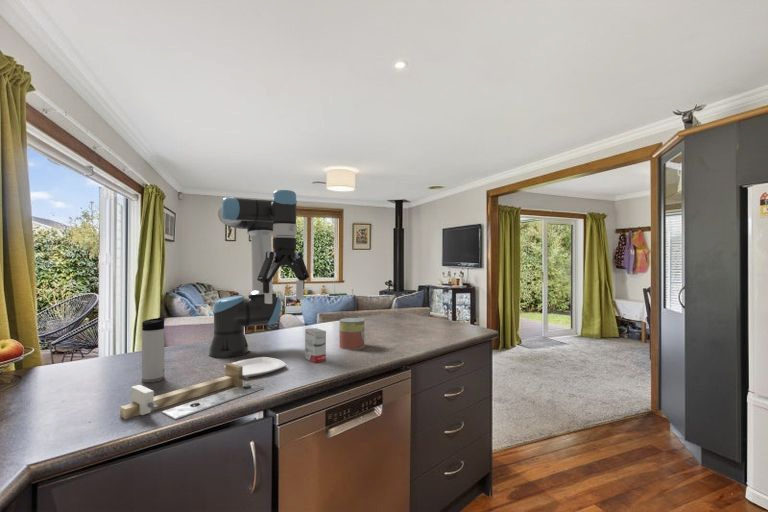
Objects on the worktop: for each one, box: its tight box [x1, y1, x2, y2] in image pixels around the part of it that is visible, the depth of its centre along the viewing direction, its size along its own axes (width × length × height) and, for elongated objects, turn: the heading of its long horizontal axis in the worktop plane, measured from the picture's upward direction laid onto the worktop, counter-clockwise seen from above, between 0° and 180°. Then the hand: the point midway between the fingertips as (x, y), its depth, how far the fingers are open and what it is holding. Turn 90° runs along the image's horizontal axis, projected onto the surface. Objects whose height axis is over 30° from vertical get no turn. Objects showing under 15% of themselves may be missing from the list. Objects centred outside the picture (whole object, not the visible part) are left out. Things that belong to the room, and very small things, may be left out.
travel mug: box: [141, 316, 165, 384], centre depth 120 cm, size 6×7×20 cm
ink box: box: [304, 327, 327, 364], centre depth 143 cm, size 8×5×12 cm, turn 39°
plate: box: [223, 356, 287, 378], centre depth 131 cm, size 19×19×2 cm
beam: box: [119, 362, 249, 420], centre depth 103 cm, size 32×10×6 cm, turn 145°
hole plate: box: [161, 382, 265, 420], centre depth 103 cm, size 7×26×1 cm, turn 145°
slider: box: [130, 384, 159, 416], centre depth 93 cm, size 2×12×6 cm, turn 55°
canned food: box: [339, 317, 365, 351], centre depth 164 cm, size 11×11×12 cm
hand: (284, 301), depth 121 cm, fingers open, 13 cm apart
